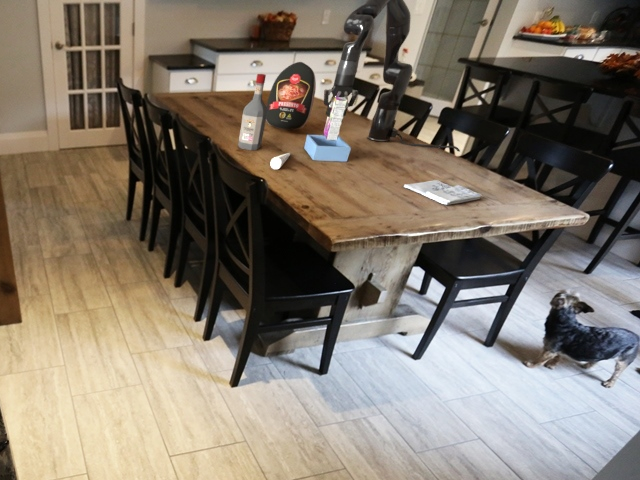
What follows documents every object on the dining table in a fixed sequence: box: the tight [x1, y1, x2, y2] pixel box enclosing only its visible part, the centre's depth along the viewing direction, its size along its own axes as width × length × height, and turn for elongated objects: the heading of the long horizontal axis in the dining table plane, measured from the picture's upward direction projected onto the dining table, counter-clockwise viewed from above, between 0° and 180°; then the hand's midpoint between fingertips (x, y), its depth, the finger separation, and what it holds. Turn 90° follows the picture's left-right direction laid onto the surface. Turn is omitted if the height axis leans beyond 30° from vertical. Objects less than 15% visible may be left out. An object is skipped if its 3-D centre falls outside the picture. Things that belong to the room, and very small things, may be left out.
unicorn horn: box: [269, 152, 291, 171], centre depth 211 cm, size 5×24×5 cm, turn 147°
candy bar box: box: [323, 97, 349, 141], centre depth 212 cm, size 11×5×16 cm, turn 169°
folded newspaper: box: [403, 179, 484, 206], centre depth 187 cm, size 19×20×2 cm
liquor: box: [237, 73, 267, 151], centre depth 219 cm, size 9×9×30 cm
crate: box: [303, 134, 352, 163], centre depth 220 cm, size 15×18×6 cm
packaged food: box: [265, 61, 317, 131], centre depth 246 cm, size 22×20×30 cm
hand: (335, 116), depth 212 cm, fingers closed on candy bar box, 5 cm apart
